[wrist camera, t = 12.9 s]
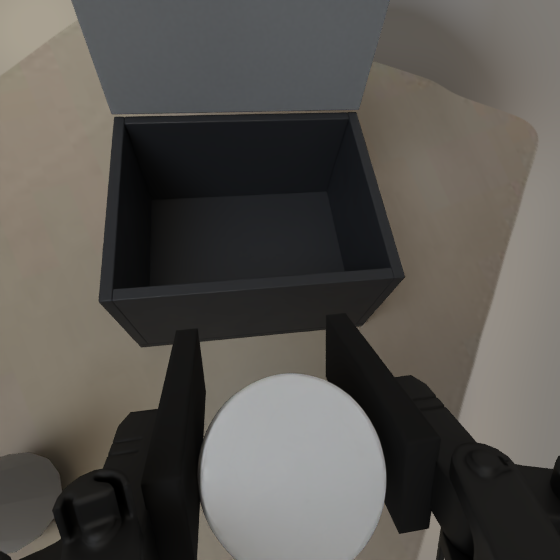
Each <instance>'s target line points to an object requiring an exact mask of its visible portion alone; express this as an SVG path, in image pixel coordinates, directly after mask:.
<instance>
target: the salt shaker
mask: <svg viewBox="0 0 560 560" xmlns="http://www.w3.org/2000/svg"><path fill="white" fill-rule="evenodd" d="M61 493H62V487H61V480H60V474H59V472H58V471H57V470H56V468H55V467H54V465H53V464H52V463H51V461H50V460H49V459H47V458H45V457H42V456H39V455H36V454H33V453H30V452H26V453H18V454H9V455H6V456H2V457H0V551H2V552H4V553H5V554H8V553H14V552H17V551H18V550H20V549H21V548H23V547H24V546H26V545H28V544H29V543H31V542H32V541H34V540H35V539H37V538H38V537H39V536H41V535H42V533H43V532H44V531H45V529H46V528H47V527H48V525H49V524H50V522H51V521H52V520H53V518H54V515H53V512H52V509H53V507H54V504H55V502H56V499H57V497H58V496H59V495H60V494H61Z"/></svg>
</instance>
